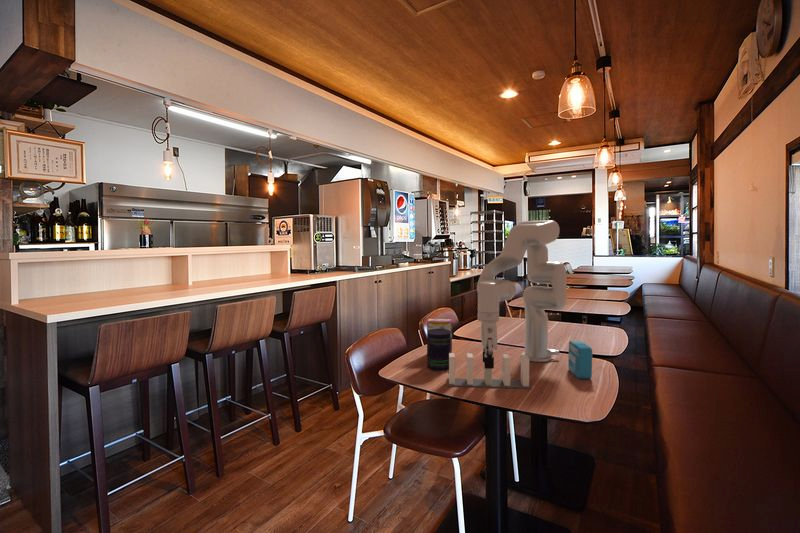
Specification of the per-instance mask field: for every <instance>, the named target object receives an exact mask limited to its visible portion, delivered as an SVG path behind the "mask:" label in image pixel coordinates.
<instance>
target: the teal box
mask: <svg viewBox="0 0 800 533" xmlns="http://www.w3.org/2000/svg"><path fill="white" fill-rule="evenodd" d="M567 362H568V370H569V372H571V374H573V375H574V376H575V377H576V378H577V379H578V378H579V379H578V380H580V379H581V380H591V379H592V376H593V349H592V347H591V346H589V345H588V344H586V342H584V341H582V340H569V342H568V361H567Z"/></svg>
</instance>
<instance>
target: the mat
mask: <svg viewBox="0 0 800 533" xmlns="http://www.w3.org/2000/svg"><path fill="white" fill-rule="evenodd" d="M446 386H447V387H457V386H458V387H459V388H460V387H462V388H463V387H465V388H495V389H521V390H522V389H523V390H524V389H527V390H528V389H529V390H532V389H533V387H532V385H531V383H530V382H529V386H523V385H522V383H521V379H520V380H519V379H510V386H504V383H503V381H502V379H496V378H495V379H493V378H492V383H491V385H486V384H485V381H484V378H473V385H467V378H457V377H455V384H449V377H447V378H446Z"/></svg>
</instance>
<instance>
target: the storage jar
mask: <svg viewBox="0 0 800 533" xmlns="http://www.w3.org/2000/svg"><path fill="white" fill-rule="evenodd" d="M450 334H451V331H449V330H446V329H431V330H428V331H427V330H426V346H427V345H428V354H427V353H426V363H427V366H426V368H427V369H428V370H430V371H433V372H446V371H449V353H450V346H451V335H450Z"/></svg>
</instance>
